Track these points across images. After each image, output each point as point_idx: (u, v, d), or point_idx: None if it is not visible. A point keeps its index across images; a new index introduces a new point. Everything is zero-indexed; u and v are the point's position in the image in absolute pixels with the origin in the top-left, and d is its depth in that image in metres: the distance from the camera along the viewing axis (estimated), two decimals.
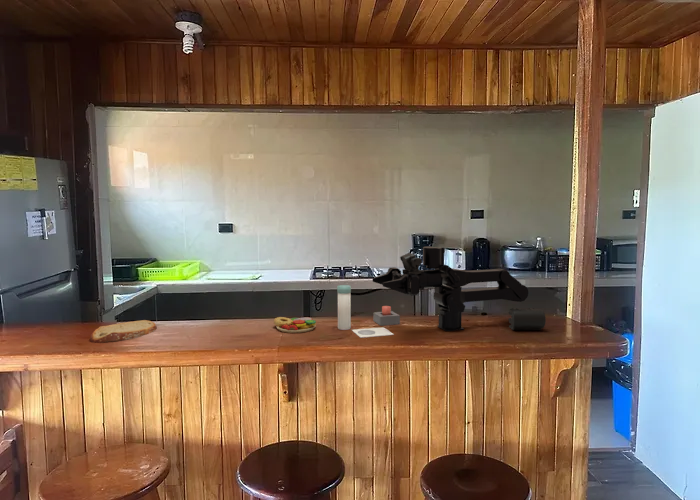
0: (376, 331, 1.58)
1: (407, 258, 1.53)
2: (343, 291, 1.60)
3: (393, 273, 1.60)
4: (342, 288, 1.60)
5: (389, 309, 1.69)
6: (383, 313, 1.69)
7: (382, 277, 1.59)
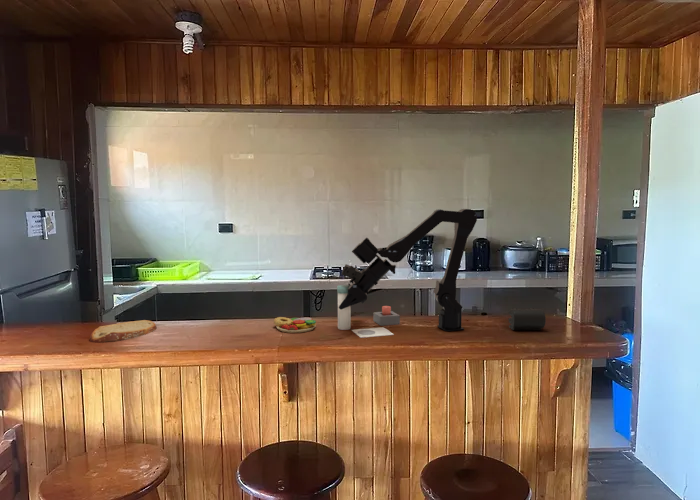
0: (376, 331, 1.58)
1: (343, 273, 1.59)
2: (343, 291, 1.60)
3: None
4: (342, 288, 1.60)
5: (389, 309, 1.69)
6: (383, 313, 1.69)
7: None
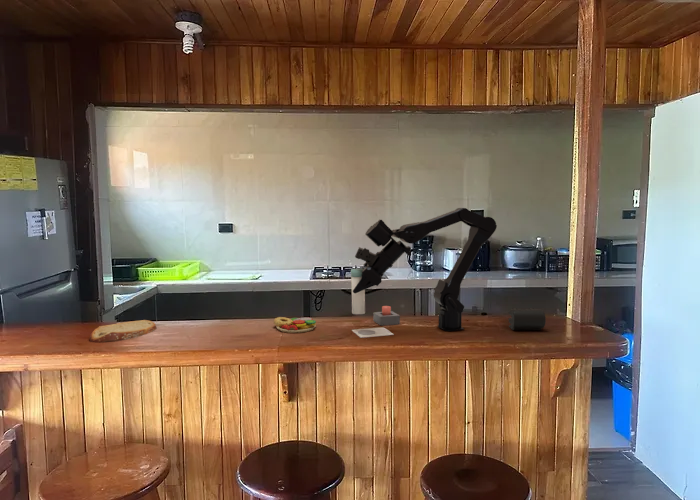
0: (376, 331, 1.58)
1: (357, 256, 1.55)
2: (357, 274, 1.56)
3: None
4: (356, 271, 1.56)
5: (389, 309, 1.69)
6: (383, 313, 1.69)
7: None
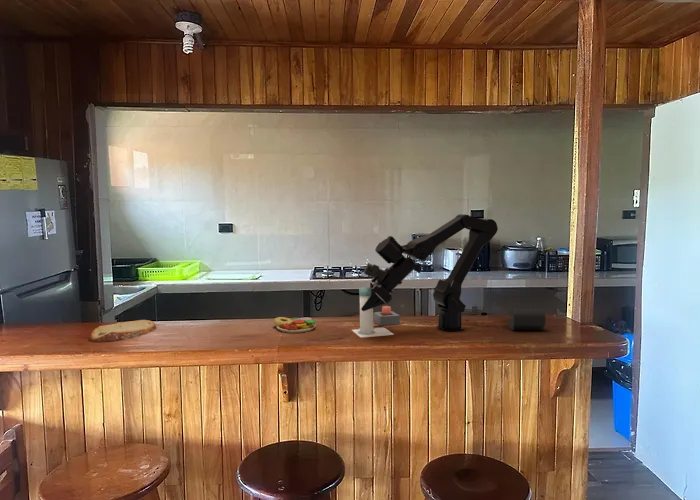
0: (376, 331, 1.58)
1: (366, 272, 1.53)
2: (365, 293, 1.53)
3: (374, 284, 1.60)
4: (364, 290, 1.53)
5: (389, 309, 1.69)
6: (383, 313, 1.69)
7: None
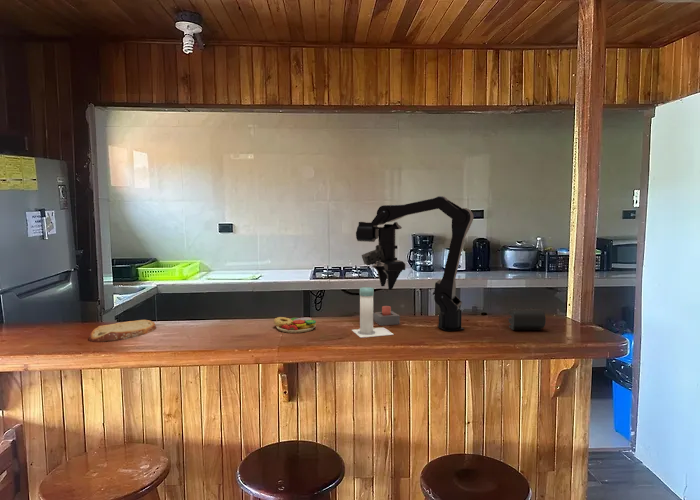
0: (376, 331, 1.58)
1: (368, 263, 1.64)
2: (366, 293, 1.53)
3: (377, 264, 1.72)
4: (365, 290, 1.53)
5: (389, 309, 1.69)
6: (383, 313, 1.69)
7: (380, 276, 1.72)
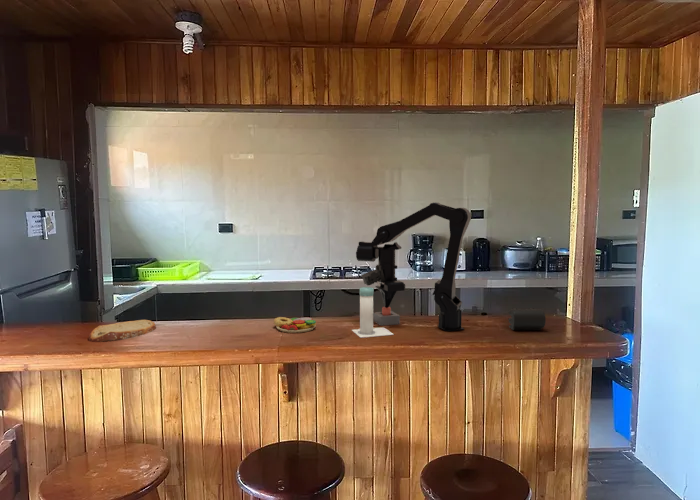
0: (376, 331, 1.58)
1: (368, 283, 1.65)
2: (366, 293, 1.53)
3: (381, 285, 1.70)
4: (365, 290, 1.53)
5: (389, 310, 1.69)
6: (383, 314, 1.69)
7: None
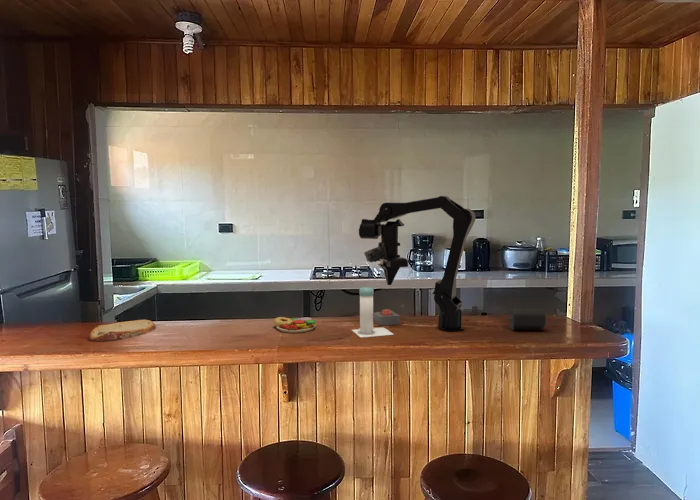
0: (376, 331, 1.58)
1: (371, 260, 1.64)
2: (366, 293, 1.53)
3: (384, 263, 1.69)
4: (365, 290, 1.53)
5: (389, 313, 1.69)
6: None
7: (387, 275, 1.69)
